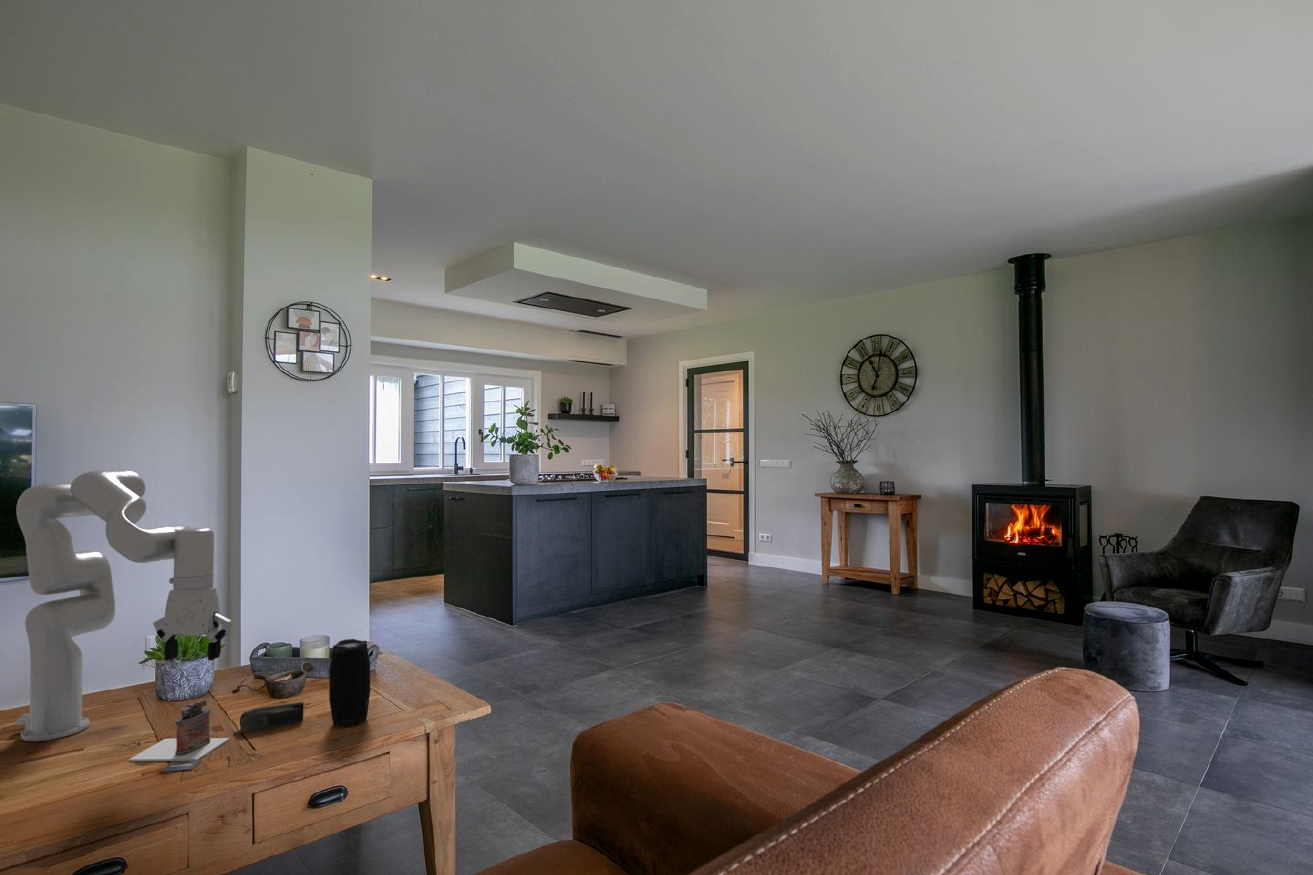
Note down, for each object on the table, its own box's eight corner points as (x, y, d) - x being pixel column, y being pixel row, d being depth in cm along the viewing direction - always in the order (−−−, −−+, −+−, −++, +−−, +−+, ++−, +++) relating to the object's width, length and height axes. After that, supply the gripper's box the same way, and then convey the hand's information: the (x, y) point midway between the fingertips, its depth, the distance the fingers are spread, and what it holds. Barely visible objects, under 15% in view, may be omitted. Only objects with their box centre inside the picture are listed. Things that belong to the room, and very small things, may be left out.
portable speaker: (377, 717, 173) (377, 639, 174) (345, 731, 165) (346, 649, 165) (353, 712, 177) (353, 636, 177) (321, 725, 169) (321, 645, 169)
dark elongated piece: (303, 699, 174) (233, 711, 165) (304, 703, 171) (234, 715, 163) (302, 719, 174) (232, 732, 165) (304, 723, 171) (233, 736, 163)
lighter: (184, 756, 151) (184, 710, 151) (171, 755, 151) (171, 709, 152) (214, 741, 159) (214, 697, 159) (201, 740, 159) (201, 696, 160)
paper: (128, 761, 150) (128, 759, 150) (165, 740, 161) (165, 738, 161) (197, 760, 150) (197, 758, 150) (229, 739, 161) (229, 738, 161)
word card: (160, 772, 144) (160, 770, 144) (170, 764, 148) (170, 762, 148) (191, 770, 145) (191, 768, 145) (200, 761, 149) (201, 759, 149)
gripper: (143, 586, 153) (142, 663, 152) (221, 586, 152) (219, 663, 152) (167, 579, 160) (166, 653, 160) (241, 579, 160) (240, 654, 160)
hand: (192, 658), depth 156 cm, fingers open, 9 cm apart
